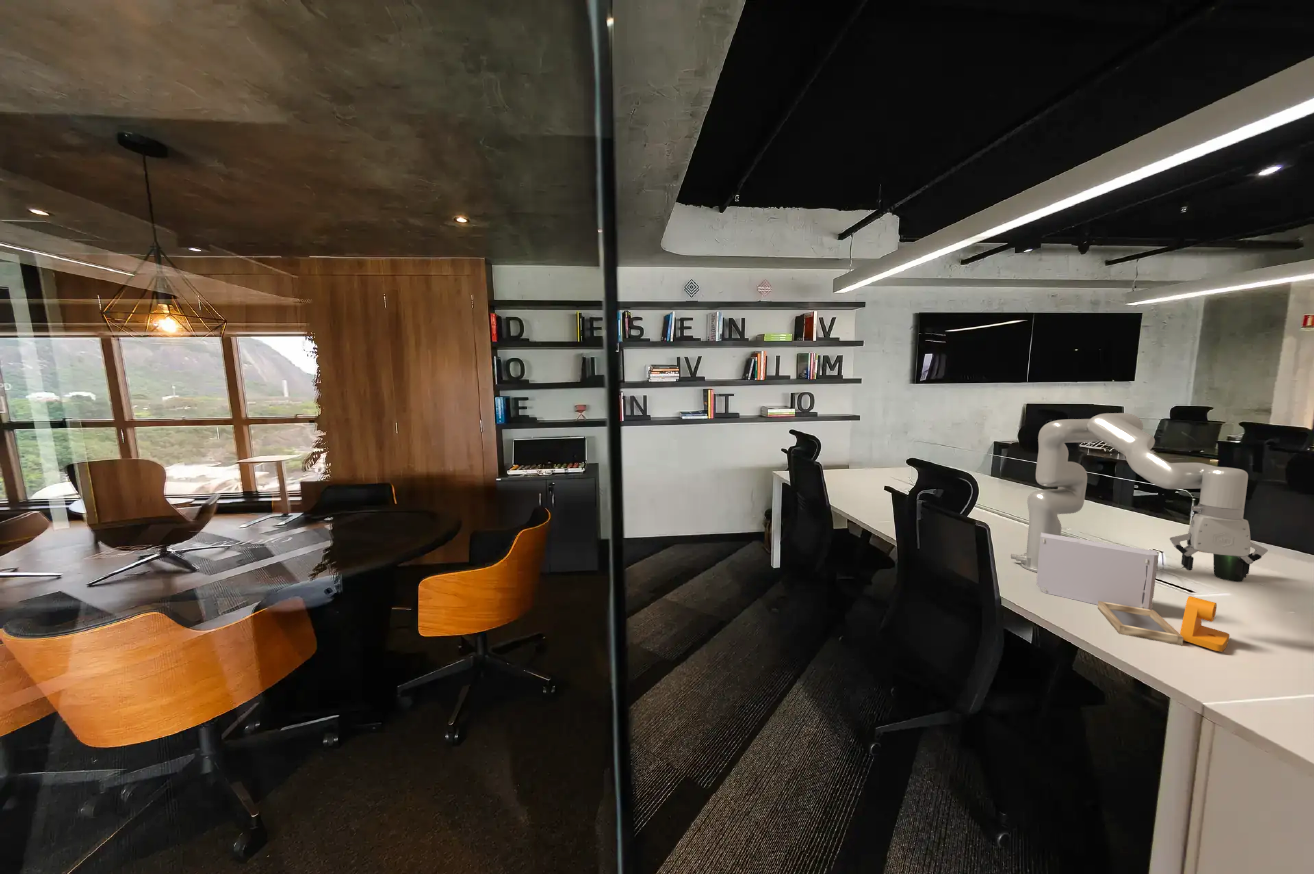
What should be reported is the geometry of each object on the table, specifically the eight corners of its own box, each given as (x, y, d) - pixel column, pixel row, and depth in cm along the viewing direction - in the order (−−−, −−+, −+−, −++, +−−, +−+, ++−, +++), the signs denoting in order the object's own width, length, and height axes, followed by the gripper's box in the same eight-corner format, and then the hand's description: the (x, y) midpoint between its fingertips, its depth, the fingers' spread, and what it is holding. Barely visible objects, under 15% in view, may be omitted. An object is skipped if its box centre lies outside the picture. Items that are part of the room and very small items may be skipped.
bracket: (1220, 655, 115) (1226, 612, 114) (1178, 641, 122) (1184, 601, 120) (1229, 642, 121) (1234, 601, 119) (1188, 630, 127) (1193, 591, 126)
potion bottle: (1227, 573, 163) (1233, 527, 161) (1254, 583, 155) (1261, 534, 153) (1203, 573, 164) (1209, 527, 162) (1228, 582, 156) (1235, 534, 154)
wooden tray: (1119, 633, 126) (1119, 625, 125) (1097, 608, 140) (1098, 600, 140) (1182, 645, 119) (1183, 637, 119) (1153, 617, 134) (1154, 610, 133)
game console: (1152, 618, 134) (1159, 556, 131) (1035, 591, 152) (1040, 536, 150) (1149, 610, 138) (1156, 550, 136) (1036, 585, 156) (1040, 532, 154)
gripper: (1180, 511, 120) (1173, 570, 122) (1280, 520, 111) (1272, 584, 113) (1167, 505, 127) (1161, 561, 128) (1261, 513, 117) (1253, 573, 119)
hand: (1213, 572), depth 121 cm, fingers open, 9 cm apart
